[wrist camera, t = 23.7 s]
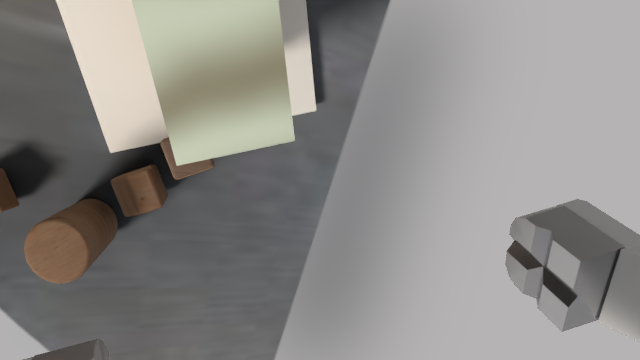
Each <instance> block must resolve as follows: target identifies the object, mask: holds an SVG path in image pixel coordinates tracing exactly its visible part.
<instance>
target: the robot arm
mask: <svg viewBox="0 0 640 360" xmlns="http://www.w3.org/2000/svg"><path fill="white" fill-rule="evenodd" d="M510 235H511V237H512V238H513V240H514V242H513V243H512V245H511V246H510V247H509V249H508V250H507V254H506V267H507V271H508V274H509V277H510V278H511V280H512V281H513V283H514V285H515V286H516V287H517V288H518V289H519V290H520V291H521V292H522V293H524V294H526V295H529V296H531V297H534V298H537V305H538V309H539V310H540V311H542V313H543V314H544V315H545V316H546V317H547V318H548V319H549V320H550V321H551V322H552V323H554V324H555V325H556V326H557V327H558V328H559V329H560V330H561V331H565V330H569V329H572V328H574V327H578V326H581V325H584V324H587V323H590V322H593V321H596V320H598V322H599V323H601V324H603V325H605V326H607V327H609V328H611V329H613V330H616V331H617V332H619V333H621V334H624V335H626V336H628V337H630V338H632V339H634V340H636V341H638V342H640V235H639V234H637V233H636V232H634V231H632V230H631V229H629V228H628V227H626V226H624V225H623V224H621V223H619V222H618V221H617V220H615V219H613V218H612V217H610V216H609V215H607V214H606V213H604V212H602V211H601V210H599V209H598V208H596V207H595V206H593V205H591V204H590V203H588V202H587V201H583V200H579V199H577V200H573V201H570V202H567V203H564V204H560V205H557V206H556V207H551V208H548V209H544V210H541V211H538V212H534V213H531V214H528V215H524V216H521V217H518V218H515V220H514V221H513V223H512V224H511V228H510ZM24 360H109V351H108V349H107V348H106V346H105V344H104V342H103V340H100V339H96V340H92V341H88V342H85V343H81V344H77V345H73V346H70V347H66V348H62V349H58V350H55V351H51V352H47V353H43V354H40V355H36V356H34V357H31V358H27V359H24Z"/></svg>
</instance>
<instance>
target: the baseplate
mask: <svg viewBox="0 0 640 360" xmlns="http://www.w3.org/2000/svg"><path fill="white" fill-rule="evenodd" d="M56 2H57V4H58V7H59V10H60V13H61V16H62V19H63V21H64V24H65V27H66V30H67V33H68V35H69V38H70V41H71V44H72V47H73V49H74V52H75V55H76V58H77V61H78V64H79V66H80V69H81V72H82V75H83V78H84V80H85V83H86V86H87V89H88V92H89V95H90V97H91V100H92V103H93V106H94V109H95V111H96V114H97V117H98V120H99V123H100V125H101V128H102V131H103V134H104V137H105V140H106V142H107V145H108V148H109V151H110V153H113V152H118V151H123V150H127V149H132V148H137V147H142V146H147V145H152V144H157V143H161V141H162V140H163V139H165V138H168V137H169V136H168V132H167V129H166V125H165V121H164V118H163V114H162V110H161V106H160V103H159V99H158V95H157V92H156V88H155V84H154V81H153V77H152V73H151V70H150V66H149V62H148V59H147V55H146V51H145V47H144V44H143V40H142V36H141V33H140V29H139V25H138V22H137V18H136V14H135V11H134V7H133V3H132V0H56ZM278 2H279V10H280V19H281V27H282V36H283V44H284V53H285V61H286V70H287V78H288V87H289V95H290V103H291V112H292V116H293V115H298V114H303V113H308V112H313V111H316V102H315V92H314V81H313V70H312V60H311V49H310V38H309V28H308V17H307V6H306V0H278Z"/></svg>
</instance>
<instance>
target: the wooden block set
mask: <svg viewBox="0 0 640 360" xmlns="http://www.w3.org/2000/svg"><path fill="white" fill-rule="evenodd" d="M161 147H162V149H163V152H164V154H165V157H166V160H167V162H168V165H169V167H170V170H171V173H172V175H173V177H174V178H175V179H178V180H179V179H182V178H185V177H188V176H191V175H194V174H196V173H199V172H202V171H205V170H208V169H211V168H213V167H214V160H213V158H212V159H207V160H202V161H198V162H193V163H188V164H184V165H179V166H177V165H176V162H175V158H174V154H173V151H172V147H171V143H170V140H169V137H168V138H165V139H163V140H162V141H161ZM111 185H112V187H113V190H114V192H115V195H116V197H117V199H118V202H119V204H120V207H121V209H122V212H123V214H124V216H125V217H130V216H135V215H139V214H144V213H147V212H150V211H153V210H155V209H158V208H161V207H162V206H163V204H164V202H165V200H166V199H167V197H168V193H167V191H166V188H165V186H164V183H163V181H162V178H161V176H160V173H159V170H158V168H157V166H156V165H155V164H151V165H148V166H145V167H142V168H139V169H136V170H133V171H130V172H127V173H124V174H122V175H120V176H117V177H115V178H113V179H112V180H111ZM16 206H19V202H18V200H17V198H16V196H15V193H14V191H13V189H12V187H11V184H10V182H9V180H8V178H7V175H6V173H5V171H4V169H2V168H1V169H0V212H3V211H5V210H8V209H11V208H13V207H16ZM117 226H118V223H117V218H116V215H115V213H114V212H113V210H112V209H111V208H110V207H109V206H108V205H107V204H106V203H104V202H102V201H100V200H97V199H84V200H81V201H79V202H77V203H75V204H74V205H72V206H70V207H68V208H66V209H64V210H62V211H60V212H58V213H57V214H55V215H53V216H51V217H49V218H47V219H45V220H43V221H42V222H40V223H38V224H36V225H35V226H34V227H33V228H32V229H31V230H30V231H29V233H28V235H27V238H26V240H25V249H24V253H25V256H26V260H27V263H28V264H29V266H30V267H31V269H32V270H33V272H35V273H36V274H37V275H38V276H39V277H41V278H42V279H44V280H47V281H49V282H52V283H67V282H72V281H74V280H76V279H77V278H79V277H81V276H82V275H83V274H84V273H85V271H86V270H87V269H88V268H89V267H90V266H91V264H92V263H93V262H94V261H95V260H96V259H97V257H98V256H99V255H100V254H101V253H102V252H103V250H104V249H105V248H106V247H107V246H108V245H109V243H110V242H111V241H112V240H113V239H114V237H115V235H116V233H117Z"/></svg>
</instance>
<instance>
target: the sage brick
mask: <svg viewBox="0 0 640 360" xmlns="http://www.w3.org/2000/svg"><path fill="white" fill-rule="evenodd" d="M132 3H133V7H134V11H135V14H136V18H137V22H138V25H139V29H140V33H141V36H142V40H143V44H144V47H145V51H146V55H147V59H148V62H149V66H150V70H151V73H152V77H153V81H154V84H155V88H156V92H157V95H158V99H159V103H160V106H161V110H162V114H163V118H164V121H165V125H166V129H167V132H168V136H169V140H170V143H171V147H172V151H173V154H174V158H175V162H176V165H177V166H179V165H184V164H188V163H193V162H198V161H202V160H207V159H212V158H216V157H221V156H226V155H230V154H235V153H240V152H244V151H249V150H254V149H259V148H263V147H268V146H273V145H277V144H282V143H287V142H291V141H295V137H294V129H293V120H292V112H291V103H290V95H289V87H288V78H287V70H286V61H285V53H284V44H283V36H282V27H281V19H280V10H279V2H278V0H132Z"/></svg>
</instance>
